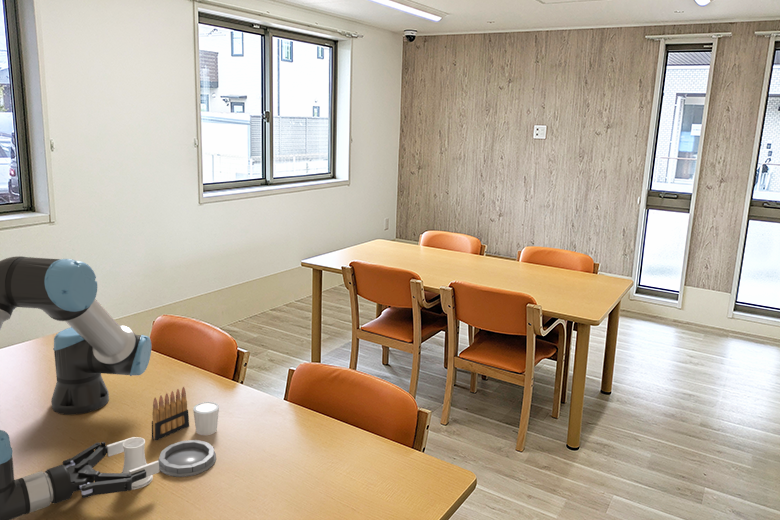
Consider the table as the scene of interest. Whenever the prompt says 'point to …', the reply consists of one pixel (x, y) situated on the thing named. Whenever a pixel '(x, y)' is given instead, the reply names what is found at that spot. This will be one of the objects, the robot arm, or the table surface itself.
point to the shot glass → (206, 417)
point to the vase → (135, 459)
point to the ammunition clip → (169, 415)
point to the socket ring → (186, 458)
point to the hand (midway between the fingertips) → (146, 453)
